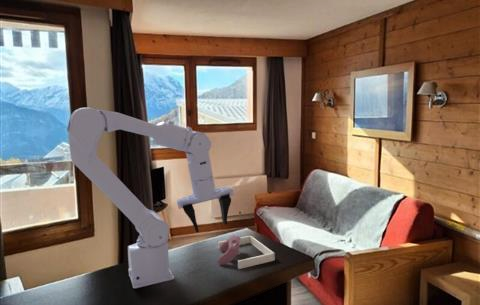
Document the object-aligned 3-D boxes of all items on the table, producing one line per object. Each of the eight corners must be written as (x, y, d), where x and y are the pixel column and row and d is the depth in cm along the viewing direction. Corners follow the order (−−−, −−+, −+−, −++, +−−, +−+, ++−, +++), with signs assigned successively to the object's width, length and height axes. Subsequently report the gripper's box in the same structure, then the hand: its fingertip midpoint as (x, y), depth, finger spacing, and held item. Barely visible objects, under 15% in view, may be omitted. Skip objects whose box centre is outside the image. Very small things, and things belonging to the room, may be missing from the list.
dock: (238, 269, 86) (238, 261, 86) (218, 248, 99) (218, 241, 99) (274, 260, 91) (274, 253, 91) (250, 241, 104) (250, 235, 103)
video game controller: (232, 271, 89) (243, 248, 88) (216, 264, 88) (227, 241, 87) (233, 255, 98) (243, 234, 97) (219, 248, 98) (229, 227, 97)
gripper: (225, 168, 92) (232, 214, 95) (171, 180, 89) (181, 228, 91) (232, 173, 86) (240, 223, 89) (175, 187, 82) (185, 238, 85)
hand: (211, 226), depth 90 cm, fingers open, 7 cm apart
